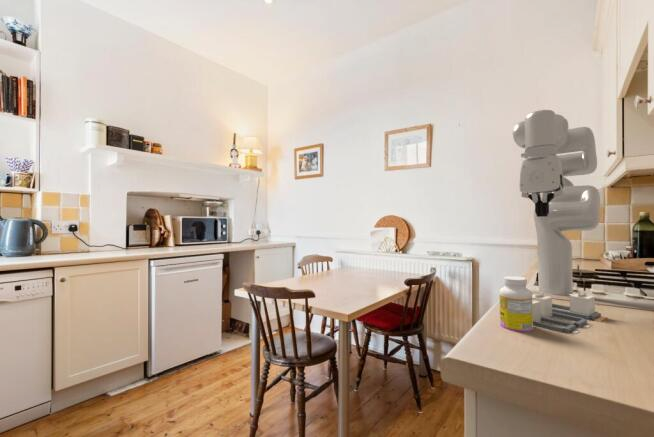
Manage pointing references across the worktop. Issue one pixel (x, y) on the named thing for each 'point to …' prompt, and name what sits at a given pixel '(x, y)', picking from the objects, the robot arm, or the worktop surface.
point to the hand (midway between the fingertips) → (542, 216)
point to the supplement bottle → (516, 305)
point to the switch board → (564, 315)
